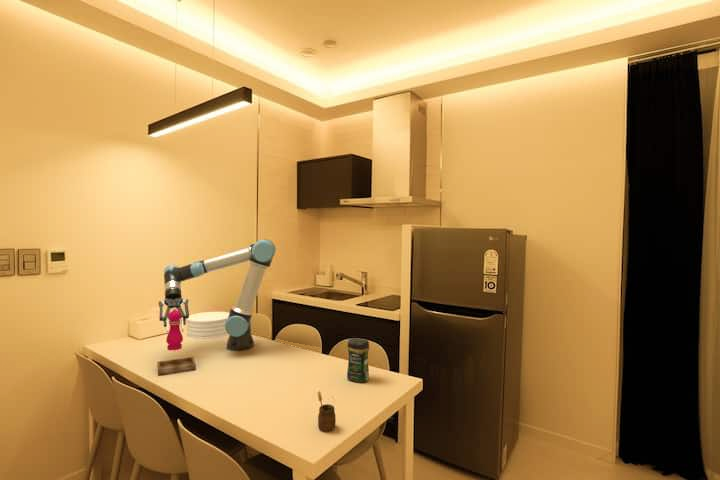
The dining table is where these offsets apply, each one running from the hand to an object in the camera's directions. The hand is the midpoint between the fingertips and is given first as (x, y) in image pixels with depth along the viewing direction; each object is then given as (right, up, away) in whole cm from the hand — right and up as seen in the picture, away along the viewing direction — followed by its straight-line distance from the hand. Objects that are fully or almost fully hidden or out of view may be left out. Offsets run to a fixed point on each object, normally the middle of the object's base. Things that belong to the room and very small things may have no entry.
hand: (175, 331), depth 184 cm
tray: (-1, -19, +4) cm, 20 cm away
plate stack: (-10, -18, +69) cm, 72 cm away
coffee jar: (+87, -20, -9) cm, 90 cm away
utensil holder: (+76, -21, -51) cm, 95 cm away
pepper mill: (-2, -9, +3) cm, 10 cm away
